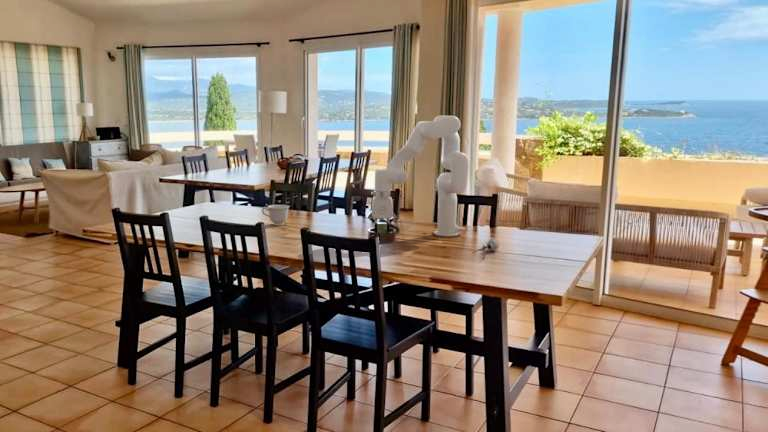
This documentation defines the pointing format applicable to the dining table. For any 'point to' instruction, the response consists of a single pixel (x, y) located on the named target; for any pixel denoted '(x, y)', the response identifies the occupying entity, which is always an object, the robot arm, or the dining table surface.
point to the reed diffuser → (490, 246)
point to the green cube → (381, 227)
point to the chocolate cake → (391, 225)
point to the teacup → (277, 213)
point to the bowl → (384, 235)
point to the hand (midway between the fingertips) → (381, 231)
